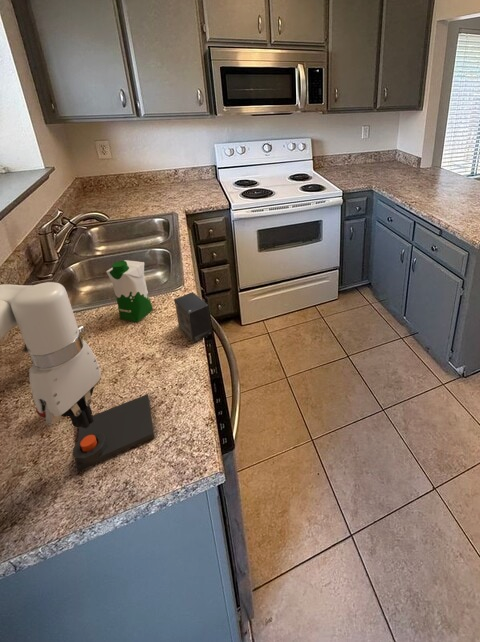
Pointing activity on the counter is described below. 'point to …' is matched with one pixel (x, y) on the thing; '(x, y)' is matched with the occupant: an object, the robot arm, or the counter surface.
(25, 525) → the counter surface
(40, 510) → the counter surface
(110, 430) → the scale
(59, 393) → the robot arm
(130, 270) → the milk carton
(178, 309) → the small box
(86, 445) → the power button
